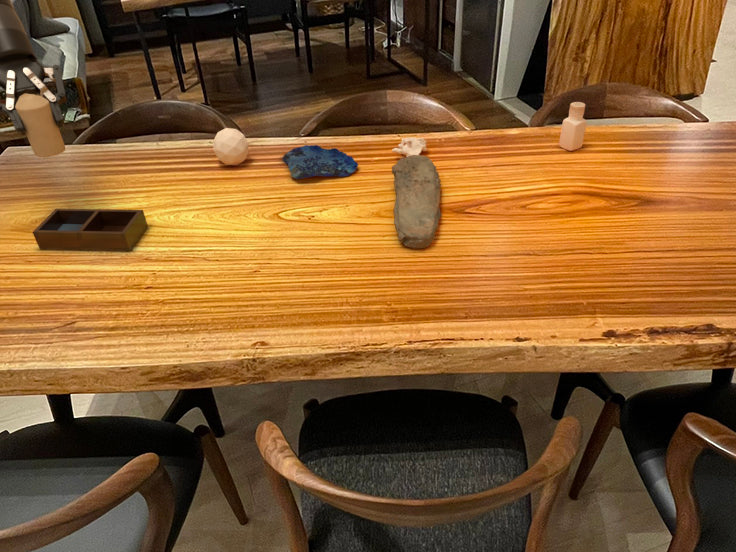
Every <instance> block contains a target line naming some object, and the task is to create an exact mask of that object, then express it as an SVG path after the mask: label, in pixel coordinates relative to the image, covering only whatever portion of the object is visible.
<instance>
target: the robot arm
mask: <svg viewBox="0 0 736 552" xmlns="http://www.w3.org/2000/svg"><path fill="white" fill-rule="evenodd" d="M46 76H47V77H49V79H50V81H51V82H54V83H55V86H56V91H57V93H55V94H53V92H51V90H49V89H48V86H46V84H44V82H45V79H46ZM0 88H1V89H3V90H5V95H6V99H5V103H0V116H3V115H5V116H7V117H9V118H10V120H11V122H12V123H11V124H12V125H13V129H14V130H15V131H16V133H17V134H18V133H20V134H21V135H22V136H27V135H26V132H25V130H24V127H23V125H22V122H21V120H20V117H19V115H18V113H17V110H16V108H15V105H16V103H17V101H18V99H19V97H20V96H21V95H23V94H25V93H27V94H34V95H38V96H41V97H43V98H45V99H47V100H48V101H49V104H50V107H51V109H52V112H53V115H54V117H55V120H56V123H57V125H58V128H59V129H61V128H63V124H65V117H64V114H63V112H62V110H61V107H60V106H61V104H67V102H68V100H67V99H68V98H67V94H66V89H65V85H64V80H63V75H62V71H61V67H60V65H58V64H54V65H52V67H44V65H42V64H41V63H39V61H38V59H37V56H36V54H35V51H34V49H33V47H32V43H31V41H30V39H29V37H28V34H27V32H26V30H25V26H24V25H23V22H22V21H21V19H20V18H19V16H18V13H17V12H16V9H15V7H14V5H13V2H12V0H0Z"/></svg>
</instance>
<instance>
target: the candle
mask: <svg viewBox="0 0 736 552" xmlns="http://www.w3.org/2000/svg"><path fill="white" fill-rule="evenodd" d="M15 108H16V110H17V113H18V115H19V117H20V120H21V122H22V125H23V127H24V130H25V132H26V135H25V136H26V137H27V140H28V142H29V144H30V148H31V150H32V152H33V154H34V156H35V157H39V158H50V157H55V156H58V155H61V154H62V153H64V152H65V151H66V145H65V141H64V139H63V137H62V133H61V131H60V128H58V125H57V123H56V120H55V117H54V115H53V112H52V109H51V107H50V104H49V101H48V100H47V99H45V98H43V97H41V96H39V95H38V94H37V95H34V94H27V93H25V94H23V95H21V96H20V97H18V101H17V103H16V105H15Z"/></svg>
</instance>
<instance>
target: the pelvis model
mask: <svg viewBox="0 0 736 552" xmlns="http://www.w3.org/2000/svg"><path fill="white" fill-rule="evenodd" d="M427 145H428V141H427V140H426V139H425V138H423V137H418V138H417V137H416V136H415V137H414V136H411V137H405V138H402V139H401V142H400V143H398V145H397V147H395V148H392V149H391V151H392V153H394V154H395V153H397V154H399V155H403V156H406V157H408V156H411V155H421V152H427V150H428V149H427ZM406 157H405V158H406Z"/></svg>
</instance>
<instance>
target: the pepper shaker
mask: <svg viewBox="0 0 736 552" xmlns="http://www.w3.org/2000/svg"><path fill="white" fill-rule="evenodd" d="M585 110H586V103H584V102H581V101H574V102H573V101H572V102H571V103H570V104H569V110H568V117H566V118H564V119H563V121H562V124H561V131H560V136H559V140H558V141H559V142H558V146H559V148H562V149H564V150H566V151H569V152H572V151H575V150H578V149H581V148H582V147H583V143H584V139H585V134H586V128H587V124H588V122H587V120H586V119H585V118H584V114H585Z"/></svg>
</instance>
